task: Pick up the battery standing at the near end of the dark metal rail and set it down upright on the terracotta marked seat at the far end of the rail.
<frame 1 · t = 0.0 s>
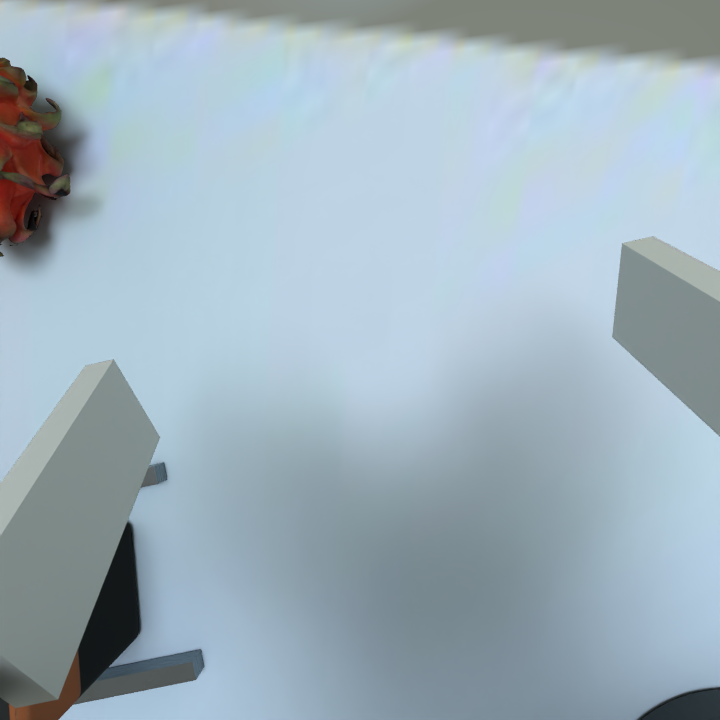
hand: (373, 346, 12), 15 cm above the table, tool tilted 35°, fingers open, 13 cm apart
battery: (104, 579, 28), on the table
dragon fruit: (29, 177, 29), on the table
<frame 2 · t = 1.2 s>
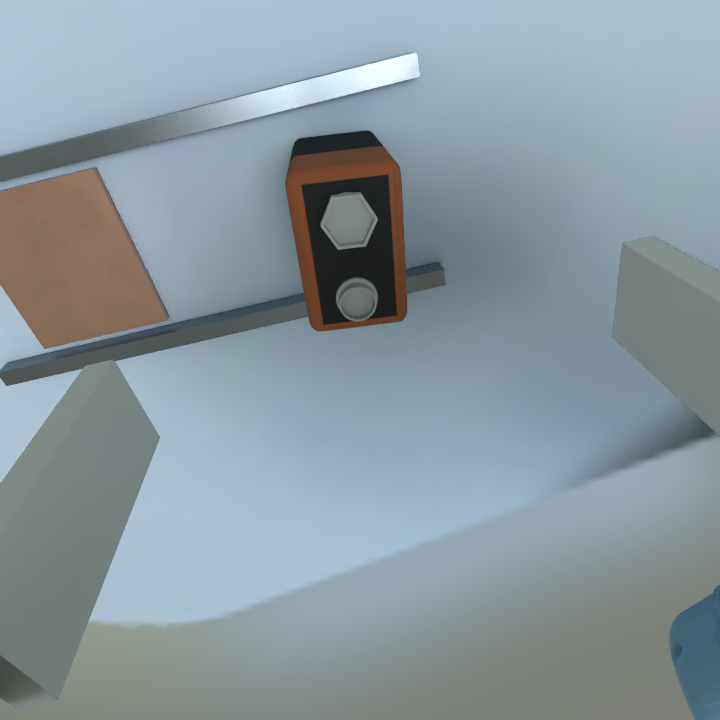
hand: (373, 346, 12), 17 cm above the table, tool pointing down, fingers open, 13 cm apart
rail: (186, 236, 27), on the table
battery: (340, 198, 27), on the table
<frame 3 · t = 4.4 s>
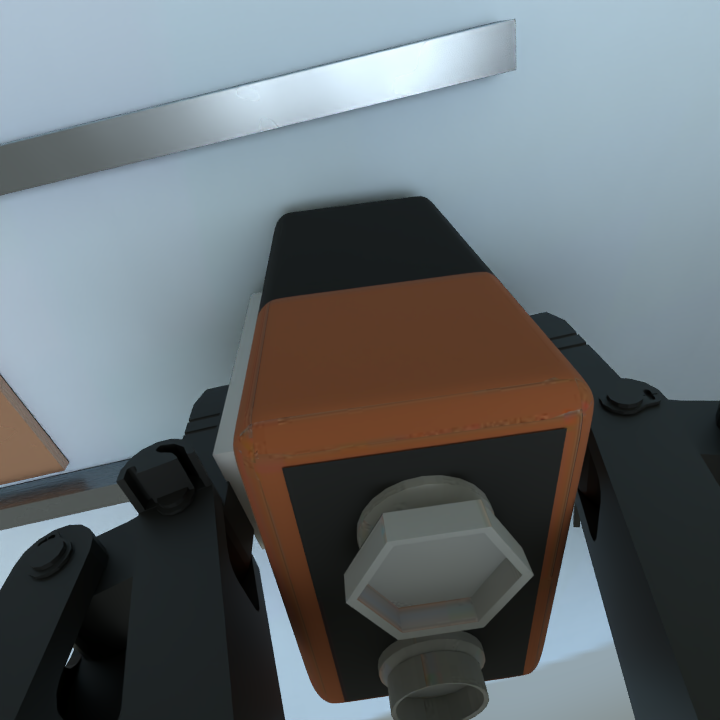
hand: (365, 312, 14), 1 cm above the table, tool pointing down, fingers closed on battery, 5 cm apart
rail: (82, 347, 15), on the table
battery: (364, 309, 15), point 1 cm above the table, touching gripper
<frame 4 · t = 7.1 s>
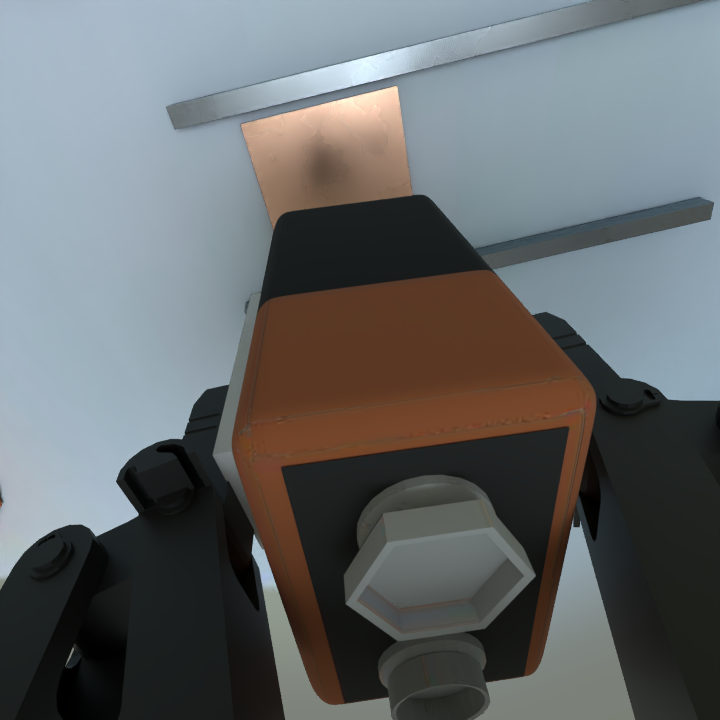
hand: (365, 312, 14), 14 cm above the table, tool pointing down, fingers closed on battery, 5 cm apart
rail: (462, 164, 26), on the table
battery: (364, 308, 15), point 14 cm above the table, touching gripper
when the fingers open (1 cm above the table, at t = 10.1 s): battery stays where it is, resting on rail.
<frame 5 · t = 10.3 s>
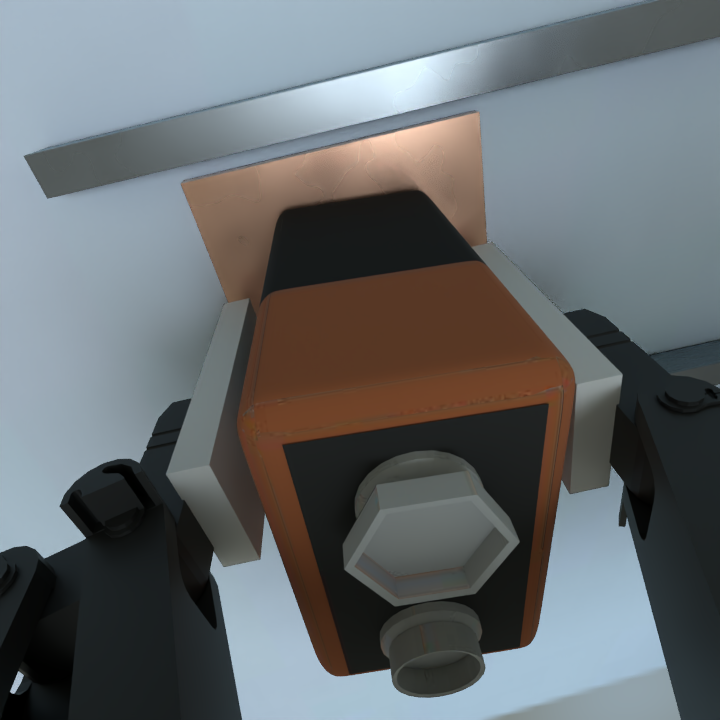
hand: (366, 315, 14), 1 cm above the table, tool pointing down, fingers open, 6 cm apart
rail: (578, 245, 15), on the table
battery: (364, 302, 15), resting on rail
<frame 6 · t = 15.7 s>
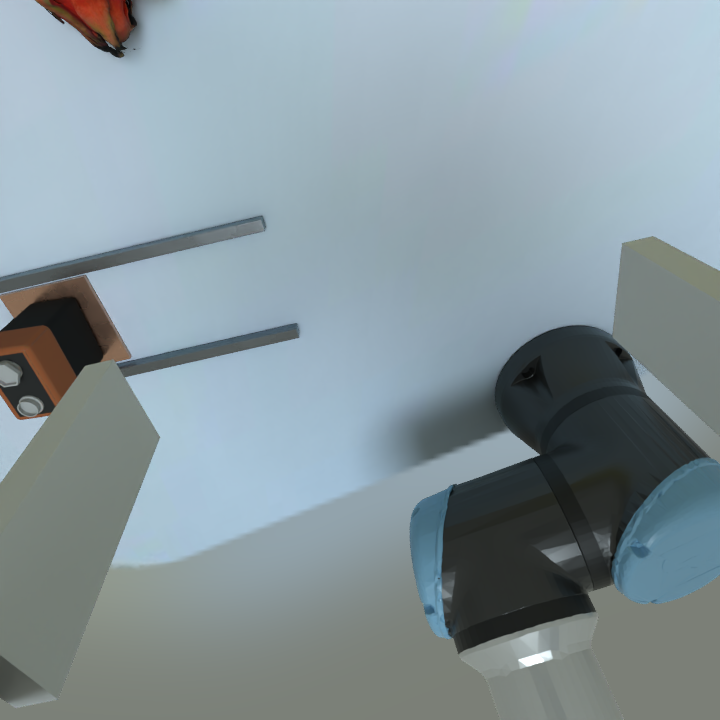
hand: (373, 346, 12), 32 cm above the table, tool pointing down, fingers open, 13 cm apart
rail: (139, 310, 45), on the table
battery: (70, 329, 45), resting on rail
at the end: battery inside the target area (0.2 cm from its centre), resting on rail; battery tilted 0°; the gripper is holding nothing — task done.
